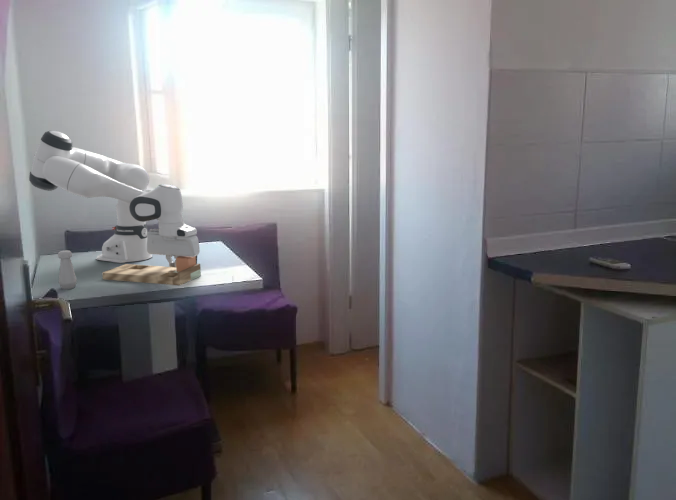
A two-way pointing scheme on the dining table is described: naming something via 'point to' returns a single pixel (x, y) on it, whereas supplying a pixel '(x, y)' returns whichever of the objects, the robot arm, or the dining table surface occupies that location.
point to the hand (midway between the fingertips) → (173, 267)
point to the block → (185, 262)
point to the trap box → (152, 274)
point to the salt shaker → (66, 271)
